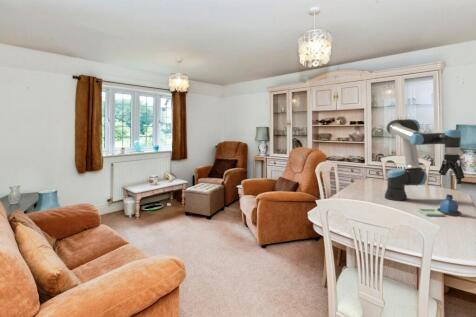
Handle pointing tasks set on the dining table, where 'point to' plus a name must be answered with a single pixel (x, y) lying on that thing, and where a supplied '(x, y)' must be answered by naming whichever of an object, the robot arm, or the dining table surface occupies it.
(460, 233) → the dining table surface
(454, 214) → the ring
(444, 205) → the perfume bottle
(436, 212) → the tray
